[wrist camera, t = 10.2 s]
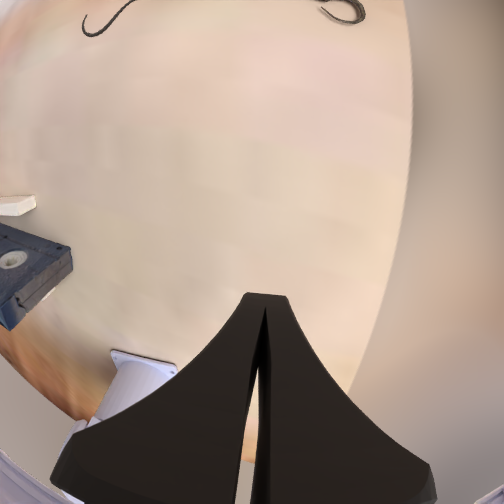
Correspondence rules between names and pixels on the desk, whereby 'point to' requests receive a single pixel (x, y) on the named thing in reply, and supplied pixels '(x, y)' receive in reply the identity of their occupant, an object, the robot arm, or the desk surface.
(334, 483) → the robot arm
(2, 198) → the rail dock
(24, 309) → the vhs cassette tape
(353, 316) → the desk surface
